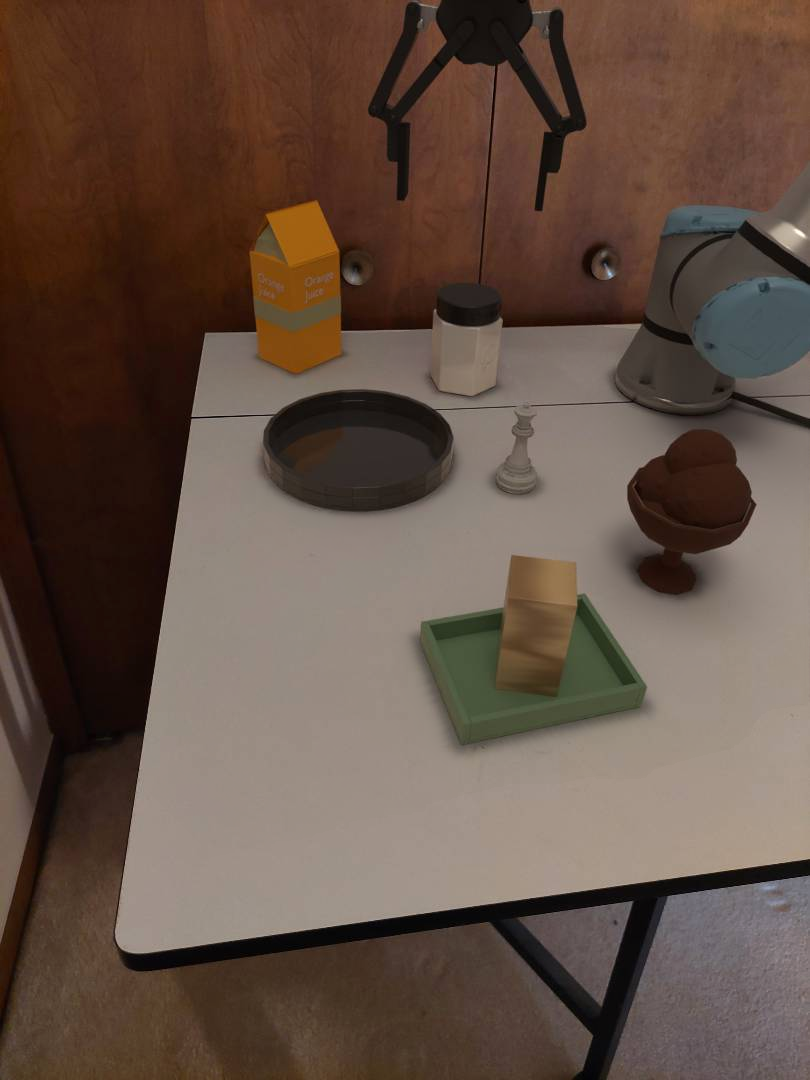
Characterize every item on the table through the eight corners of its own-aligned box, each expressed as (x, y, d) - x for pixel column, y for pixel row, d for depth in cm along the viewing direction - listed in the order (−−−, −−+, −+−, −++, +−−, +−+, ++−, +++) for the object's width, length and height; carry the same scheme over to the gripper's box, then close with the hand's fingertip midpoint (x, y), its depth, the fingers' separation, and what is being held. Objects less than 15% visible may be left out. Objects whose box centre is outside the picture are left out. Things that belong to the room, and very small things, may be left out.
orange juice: (342, 354, 112) (339, 205, 100) (295, 374, 107) (286, 220, 95) (304, 337, 116) (296, 192, 104) (257, 356, 111) (243, 206, 99)
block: (556, 652, 68) (576, 562, 62) (556, 697, 64) (577, 605, 58) (497, 644, 68) (511, 554, 62) (494, 689, 64) (508, 597, 58)
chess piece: (509, 498, 86) (521, 416, 80) (488, 477, 89) (497, 397, 83) (543, 488, 88) (556, 407, 82) (520, 468, 91) (532, 389, 85)
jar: (462, 403, 102) (469, 313, 95) (417, 380, 107) (421, 293, 99) (507, 382, 107) (518, 295, 100) (463, 361, 112) (470, 276, 104)
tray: (580, 612, 72) (585, 593, 71) (641, 706, 64) (647, 686, 63) (419, 641, 69) (420, 621, 67) (461, 745, 61) (463, 724, 59)
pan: (459, 420, 99) (461, 398, 97) (440, 521, 82) (442, 498, 81) (292, 403, 101) (291, 381, 99) (240, 499, 85) (238, 475, 83)
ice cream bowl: (586, 555, 79) (616, 422, 70) (677, 530, 83) (717, 401, 73) (653, 626, 71) (696, 487, 62) (750, 595, 75) (804, 460, 66)
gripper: (639, -60, 68) (595, 200, 81) (352, -73, 71) (354, 182, 84) (647, -58, 62) (598, 223, 76) (334, -71, 65) (339, 203, 78)
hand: (469, 202), depth 80 cm, fingers open, 13 cm apart
